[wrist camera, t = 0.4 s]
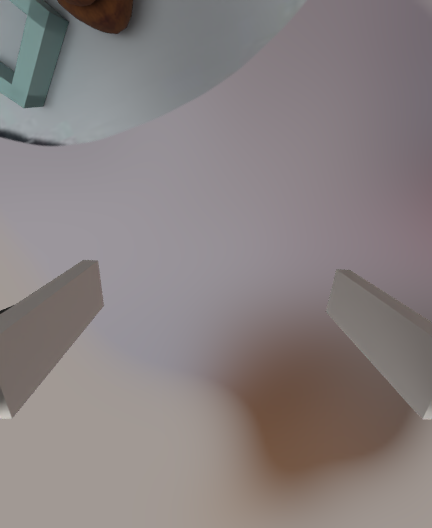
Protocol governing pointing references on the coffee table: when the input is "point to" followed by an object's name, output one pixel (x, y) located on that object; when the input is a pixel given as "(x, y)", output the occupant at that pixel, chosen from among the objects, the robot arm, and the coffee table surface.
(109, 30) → the wooden figurine
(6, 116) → the coffee table surface
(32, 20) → the endcaps
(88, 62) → the coffee table surface
